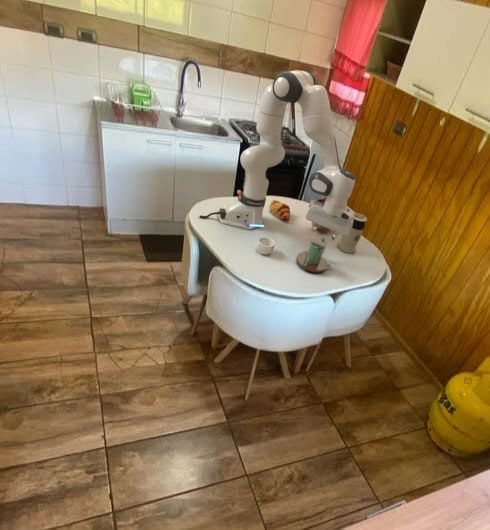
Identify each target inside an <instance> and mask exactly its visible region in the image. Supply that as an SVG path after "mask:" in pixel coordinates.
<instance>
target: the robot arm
mask: <svg viewBox="0 0 490 530" xmlns="http://www.w3.org/2000/svg"><path fill="white" fill-rule="evenodd" d="M317 83H318V82H317V78H316V76H315V75H314V74H313V73H312V72H310V71H307V70H299V69H293V70H290V71H283V72H280V73H279V74H277V76H275V78H274V79H273V82H272V84H268V85H267V86H266V87H265V89H264V92H263V94H262V98H261V101H260V105H259V109H258V115H257V121H256V125H255V126H256V127H255V129H256V132H257V133H258V134H259V144H257V145H251V146H250V147H248V148H246V149H245V150H243V151H242V153H241V155H240V164H241V167H242V168H243V170H244V171H245V182H244V186H243V187H244V188H243V191H242V190H241V189H238V190H237V195H238V196H237V197H236V198H235V199H232V200H230V201H227V203H226V204H225V206H224V207H223V208H221V207H220V208H219V211H214V212H211V213H209V214H207V215H199V218H200V219H201V218H202V219H207V218H209V217H211V216H214V215H218V220H219V221H220V222H221V223H222V224H224V225H228V226H233V227H237V228H242V229H246V230H253V229H255V228H258V227H261V228H264V227H265V225H264V224H263V214H264V213H263V212H264V208H265V205H266V201H267V197H266V196H267V192H268V189H269V185H270V182H269V181H270V180H269V179H268V178H267V170H268V169H270V168H272V167H276V166H278V165H279V164H280V163H281V162H283V161H284V159H285V157H286V156H285V155H286V151H285V148H284V146H283V144H282V130H283V126H284V125H283V124H284V119H285V115H286V111H287V110H286V109H287V106H288V104H289V103H290V104H296V103H297V104H299V106H300V108H301V109H300V110H301V118H302V124H303V125H302V126H303V127H302V128H303V130H304V133H305V135H306V136H307V137H308V138H309V139H311V140H313V141H315V142H316V143H317V144H318V145H319V147H320V149H321V155H322V160H323V167H322V169H319V170H317V171H315V172H313V173H312V174H310V176H309V178H308V187H309V189H310V190H311V192H312V193H314V194H316V195H319V196H323V197H326V200H325V203H321V202H318V201H317V200H311V201H310V202H309V204H308V209H307V212H306V214H305V215H304V216H305V220H307V221H309V222H311V227H312V229H311V232H314V233H316V231H317V229H316V228H317V227H315V223H316V224H319V225H321V226H324V227H326V228H329V229H331V230H330V231H334V232H336V234H333V235H332V237H331V240H332V241H335V240H336V239H337V237H339V236H340V235H346V236H347V235H349V234H350V231H351V229H352V226H353V217H354V214H355V213H356V212H355V211H354V210H353V209H352V208H350V207H349V206H348V200H349V199H350V197H351V195H352V194H353V190H354V187H355V183H356V176H355V174H354V173H353V172H352V171H350V170H349V169H348V168H347V169H346V168H342V166H341V163H340V160H339V153H338V146H337V140H336V136H335V131H334V127H333V122H332V121H333V120H332V114H331V113H332V111H331V104H330V98H329V95H328V90H327V89H326V88H325V86H323V85H320V84H317Z"/></svg>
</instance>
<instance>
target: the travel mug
mask: <svg viewBox="0 0 490 530" xmlns="http://www.w3.org/2000/svg"><path fill="white" fill-rule="evenodd" d="M367 221H368V217H366V215H363V214H361V213H358V212H355V214H354V217H353V226H352V229H351V231H350V234H349V235H347V236H346V235H343V234H341V237H340V240H339V243H338V245H337V246H338V248H339V249H340V251H343V252H344V253H348V254H349V253H350V254H351V253H354V252H355V250H356V248H357V245H358V244H359V240H360V239H361V237H362V235H363V232H364V229H365V227H366V222H367Z"/></svg>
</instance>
